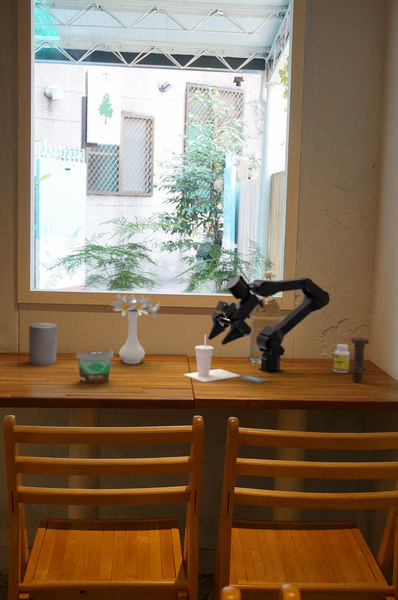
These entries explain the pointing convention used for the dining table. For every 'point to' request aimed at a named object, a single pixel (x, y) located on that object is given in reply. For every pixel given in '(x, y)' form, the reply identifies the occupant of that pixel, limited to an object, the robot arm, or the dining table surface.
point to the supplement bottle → (341, 359)
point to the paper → (212, 375)
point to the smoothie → (203, 358)
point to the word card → (253, 379)
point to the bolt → (358, 358)
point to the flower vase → (133, 324)
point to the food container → (94, 366)
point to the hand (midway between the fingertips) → (215, 341)
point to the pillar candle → (42, 343)
